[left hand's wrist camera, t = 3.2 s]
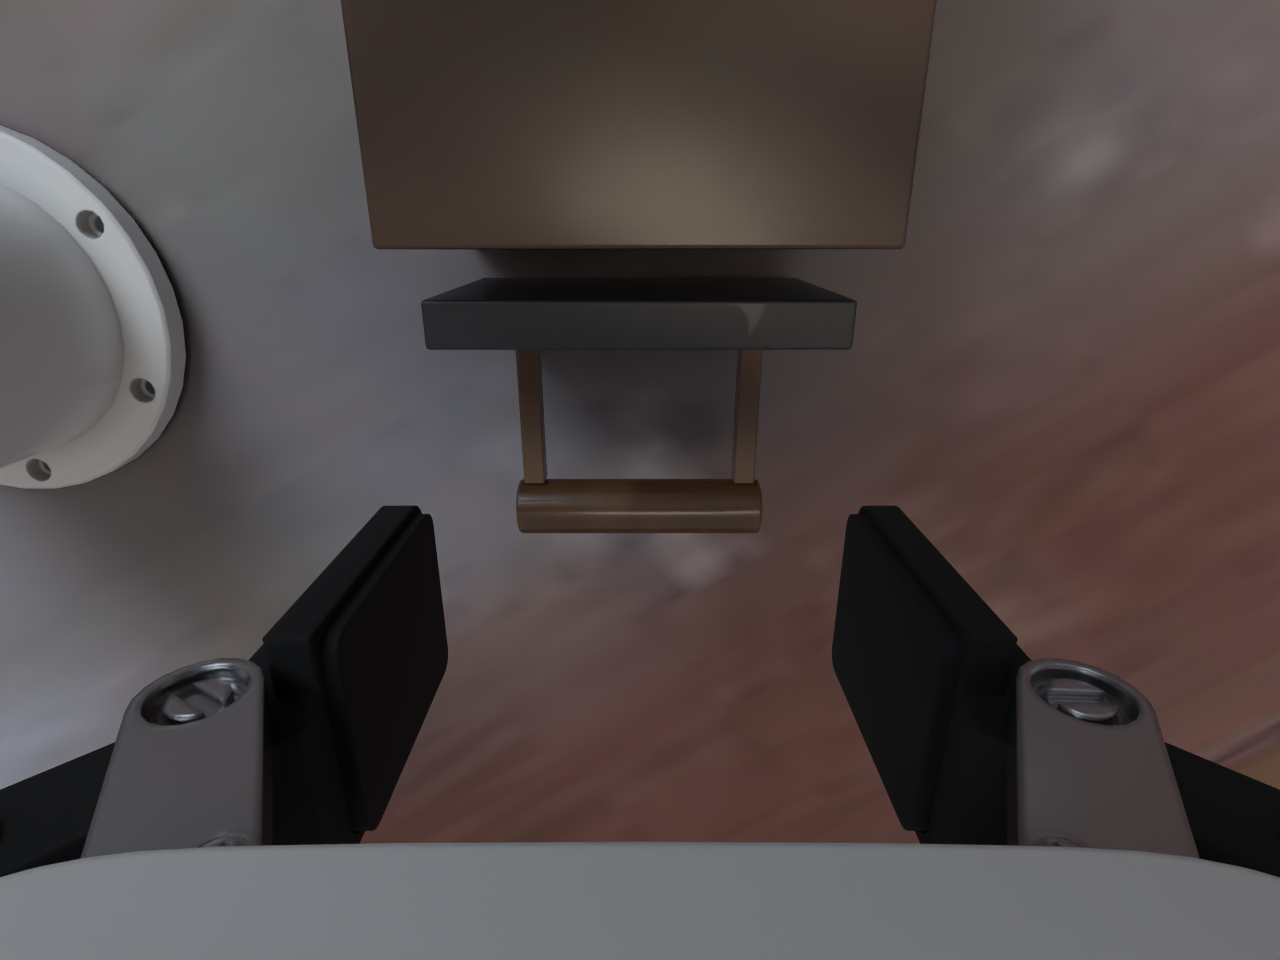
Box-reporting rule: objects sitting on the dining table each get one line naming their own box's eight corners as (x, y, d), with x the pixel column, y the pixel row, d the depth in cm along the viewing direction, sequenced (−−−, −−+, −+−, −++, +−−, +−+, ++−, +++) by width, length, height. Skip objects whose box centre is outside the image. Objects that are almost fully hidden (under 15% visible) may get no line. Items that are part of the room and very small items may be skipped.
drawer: (781, 473, 25) (829, 560, 19) (497, 473, 25) (448, 560, 19) (841, -305, 18) (958, -609, 11) (436, -305, 18) (318, -609, 11)
